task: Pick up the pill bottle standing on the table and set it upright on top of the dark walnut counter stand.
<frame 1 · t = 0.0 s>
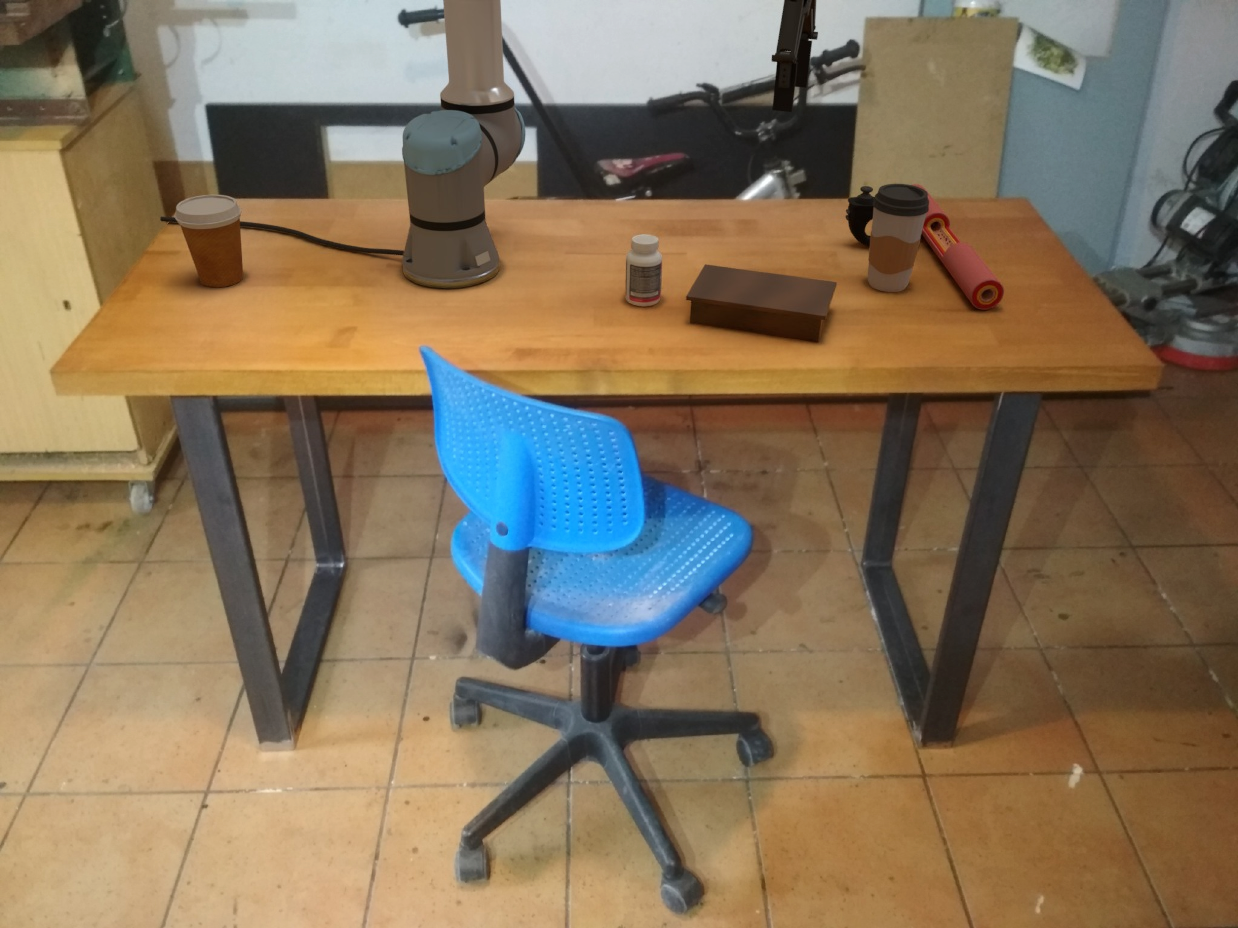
hand: (790, 98, 153), 28 cm above the table, tool pointing down, fingers open, 13 cm apart
pill bottle: (642, 301, 161), on the table
coffee cup: (887, 285, 168), on the table
blood vessel: (943, 256, 178), on the table
disposable coffee cup: (222, 280, 165), on the table
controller: (877, 246, 181), on the table
counter stand: (759, 316, 157), on the table
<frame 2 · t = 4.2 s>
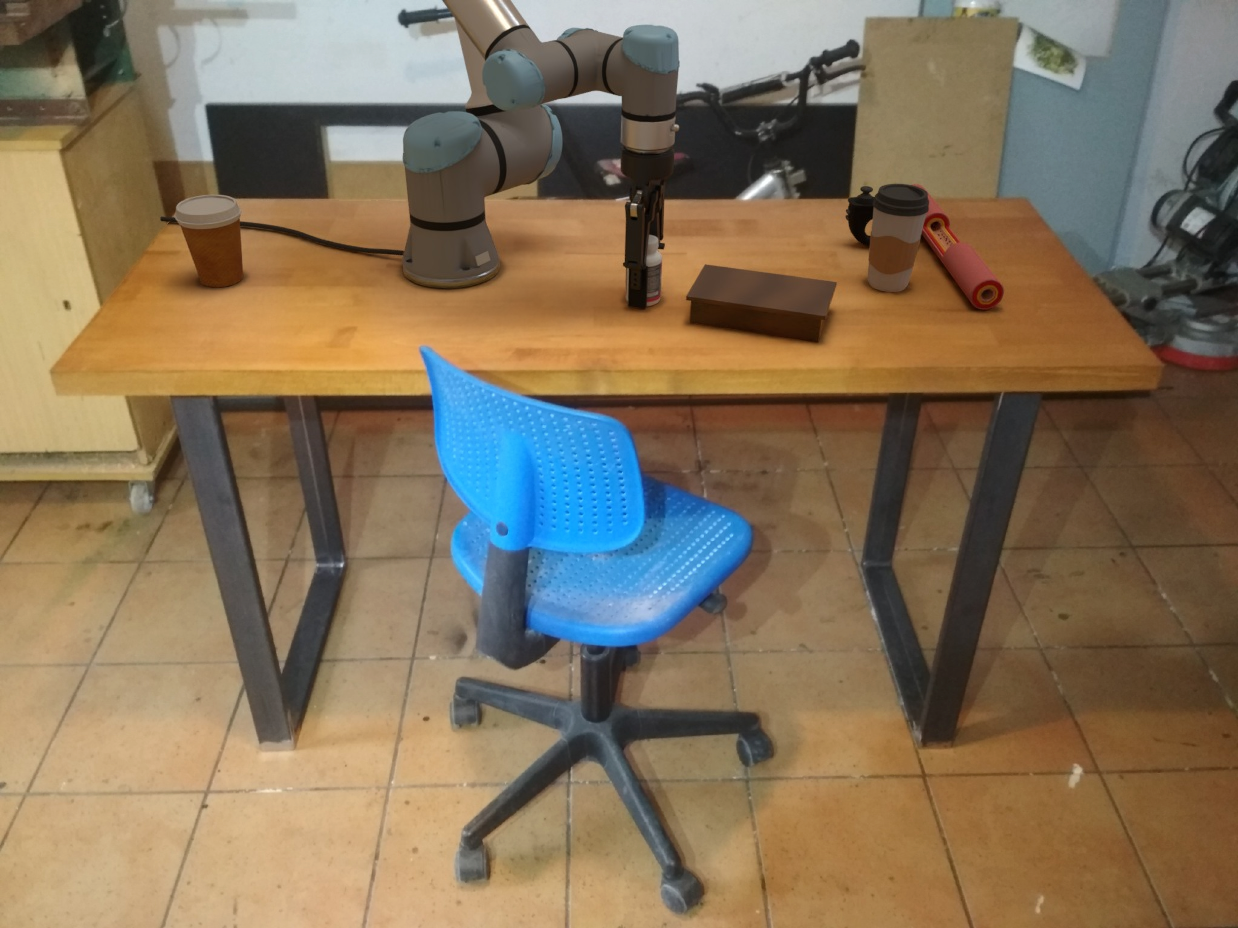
hand: (642, 298, 161), 0 cm above the table, tool pointing down, fingers closed on pill bottle, 5 cm apart
pill bottle: (642, 301, 161), on the table, touching gripper
everything else where it was.
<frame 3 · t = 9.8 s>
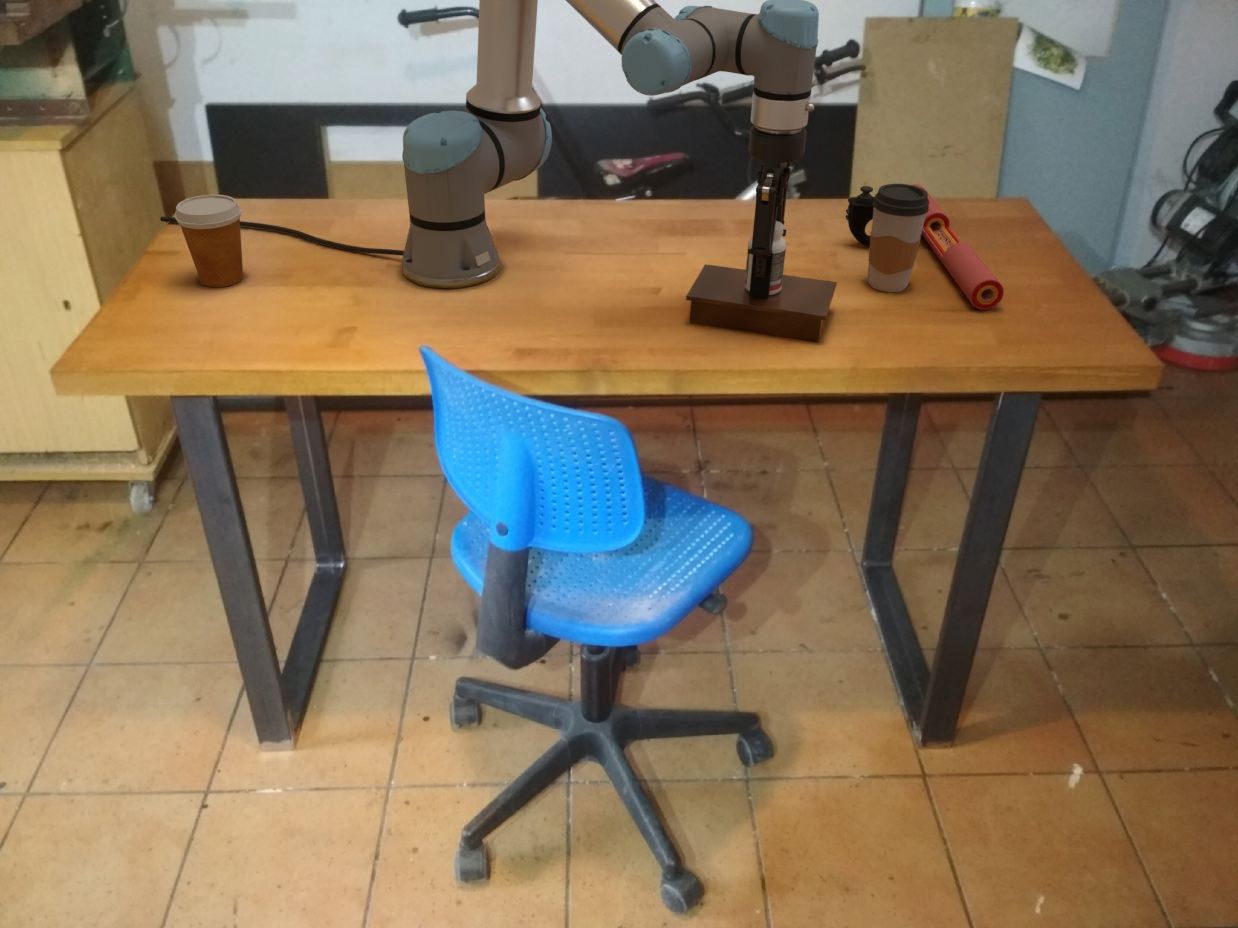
hand: (762, 287, 155), 5 cm above the table, tool pointing down, fingers closed on pill bottle, 5 cm apart
pill bottle: (762, 290, 155), point 4 cm above the table, touching gripper
everything else where it was.
when the fingers open (6 cm above the table, at t = 15.2 s): pill bottle drops 1 cm, resting on counter stand.
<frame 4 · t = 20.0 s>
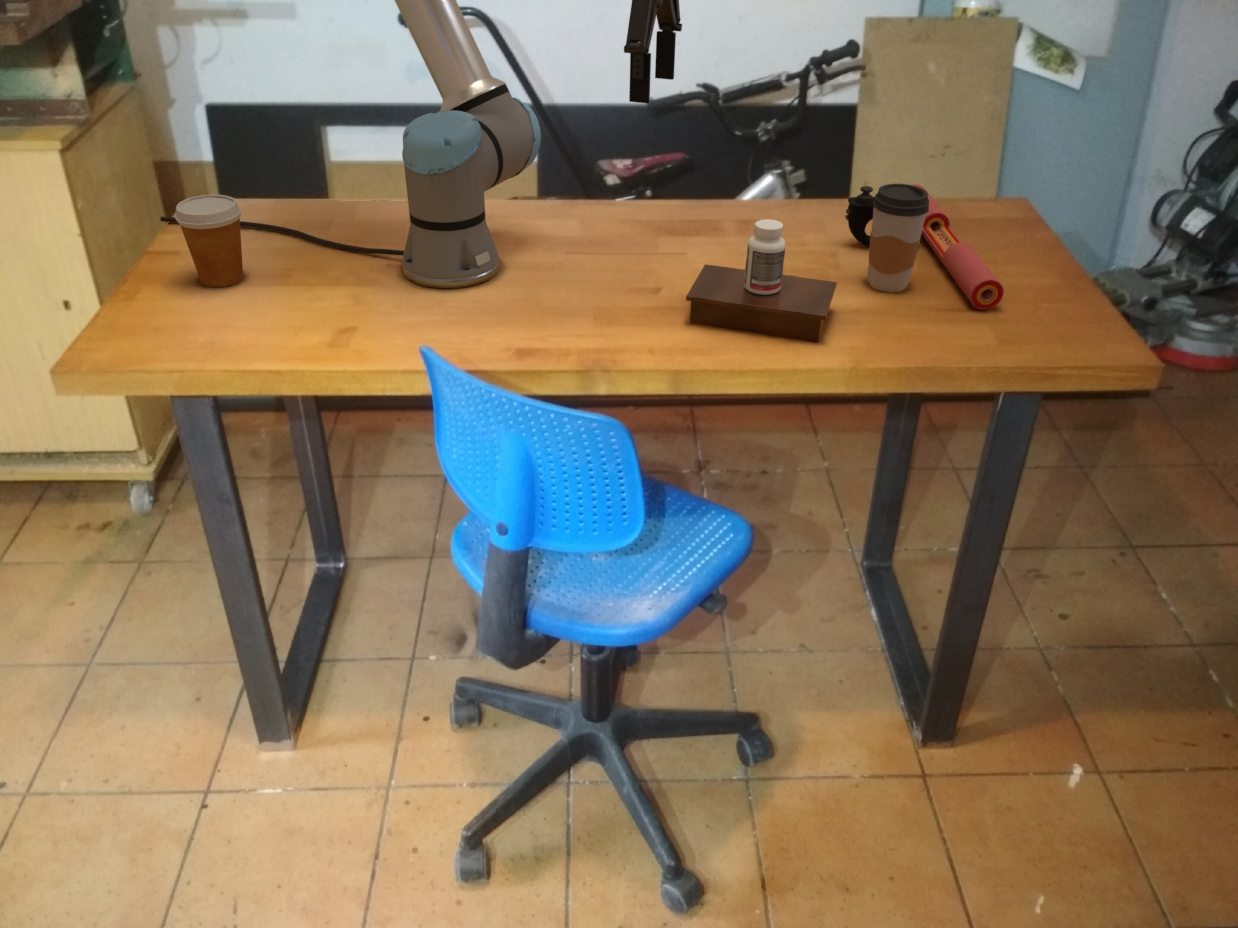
hand: (652, 90, 153), 29 cm above the table, tool pointing down, fingers open, 13 cm apart
pill bottle: (762, 289, 155), point 4 cm above the table, touching counter stand
everything else where it was.
at the end: pill bottle inside the target area (0.2 cm from its centre), point 4.3 cm above the table; pill bottle tilted 0°; the gripper is holding nothing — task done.
